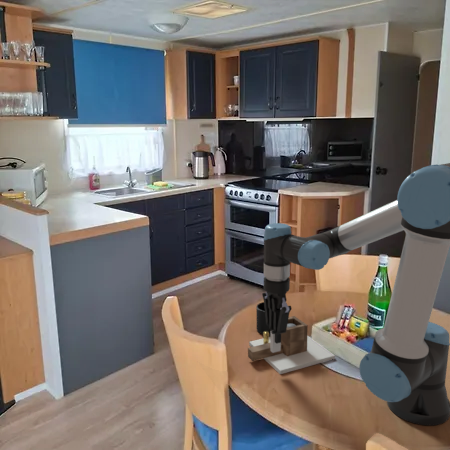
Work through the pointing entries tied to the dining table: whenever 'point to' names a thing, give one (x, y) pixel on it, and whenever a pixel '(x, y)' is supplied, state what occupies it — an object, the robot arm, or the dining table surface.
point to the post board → (297, 356)
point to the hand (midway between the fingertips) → (275, 350)
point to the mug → (261, 319)
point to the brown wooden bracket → (284, 342)
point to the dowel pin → (265, 337)
